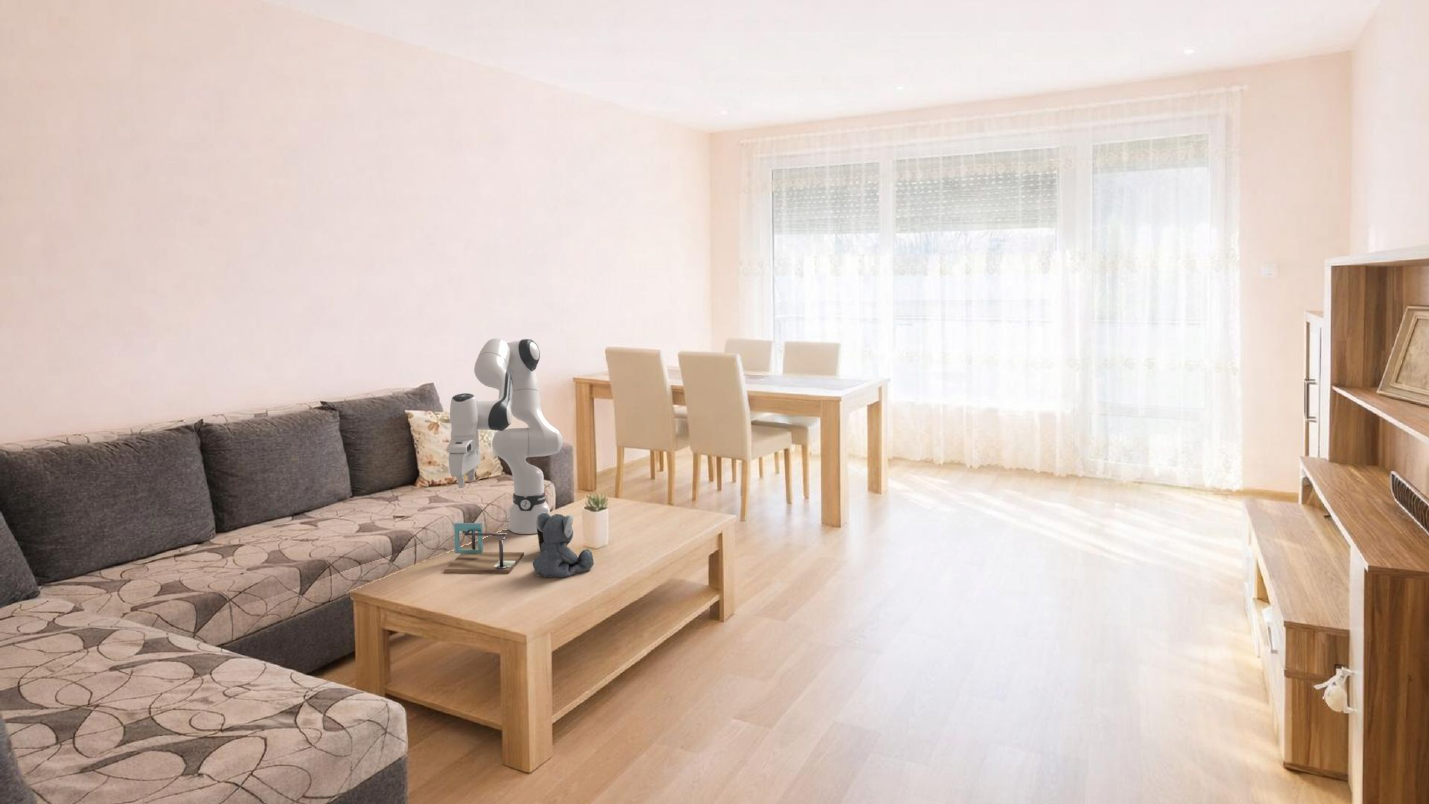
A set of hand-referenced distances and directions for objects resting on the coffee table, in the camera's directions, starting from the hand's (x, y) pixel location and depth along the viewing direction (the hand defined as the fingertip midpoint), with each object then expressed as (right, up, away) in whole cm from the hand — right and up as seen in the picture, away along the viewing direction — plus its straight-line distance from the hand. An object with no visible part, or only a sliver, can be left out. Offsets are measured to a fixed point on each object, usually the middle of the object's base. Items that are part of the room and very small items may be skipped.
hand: (466, 484), depth 285 cm
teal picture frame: (0, -23, +3) cm, 24 cm away
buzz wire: (+7, -25, 0) cm, 26 cm away
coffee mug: (+25, -25, +14) cm, 38 cm away
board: (+6, -26, 0) cm, 27 cm away
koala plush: (+32, -28, -7) cm, 43 cm away
